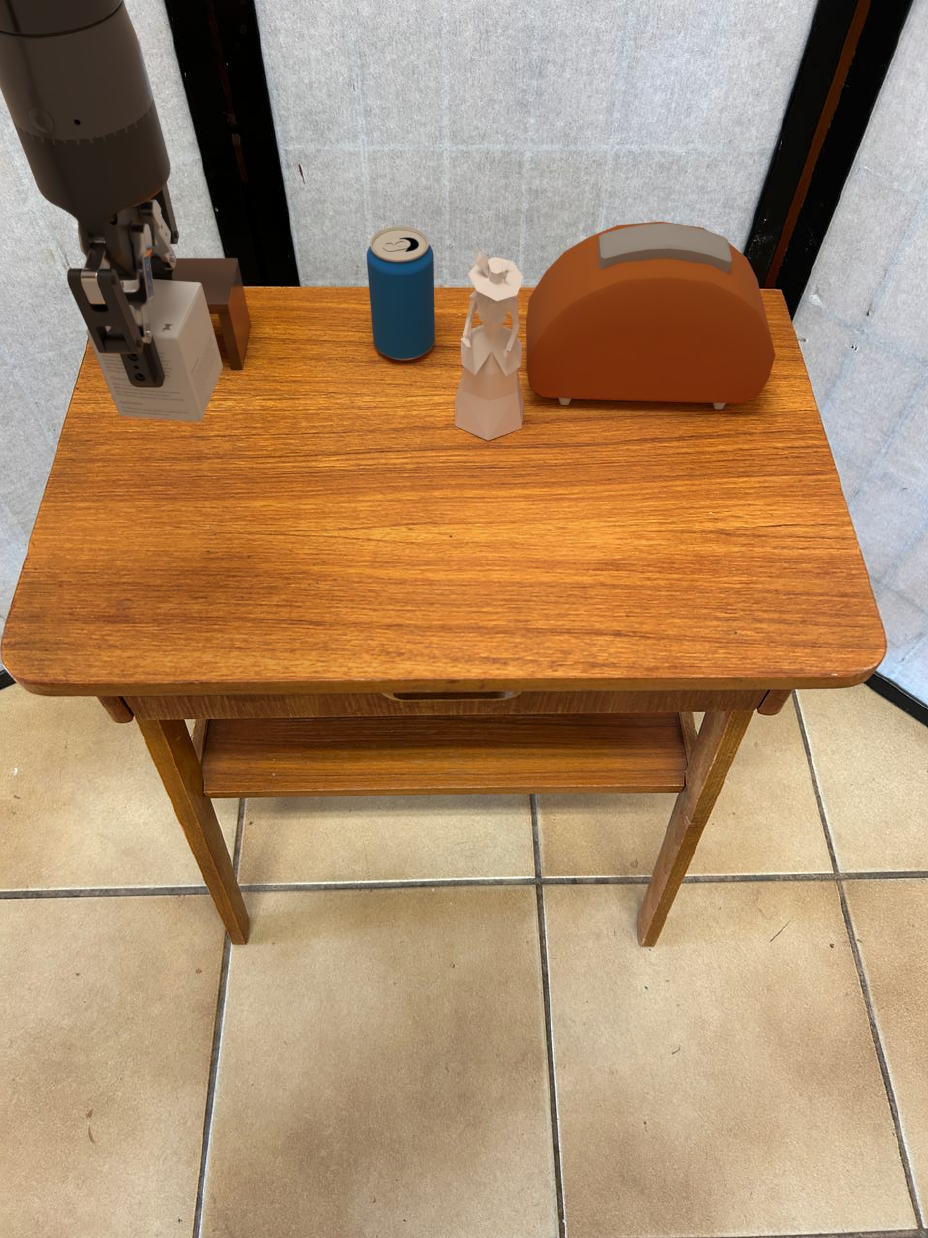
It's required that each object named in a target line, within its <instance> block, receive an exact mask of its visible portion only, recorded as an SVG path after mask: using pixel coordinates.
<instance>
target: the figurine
mask: <svg viewBox="0 0 928 1238" xmlns="http://www.w3.org/2000/svg"><path fill="white" fill-rule="evenodd" d="M467 275H468V277H469V280H470V281H471V283H472V285H473V287H474V289H475V290H473V291H472V293H470V295H469V296H468V297H469V305H468V311H467V314H466V320H465V323H464V329H463V332H462V333H463V334H462V337H461V338H460V339H459V340H460V341H461V342H460V356H461V357H460V359H461V365H462V366H463V370H462V374H461V376H460V381H459V384H458V388H457V391H456V395H455V398H454V426H455V427H456V428H458V429H460V430H463V431H464V432H465V431H466V432H468V433H470V434H472V435H474V436H476V437H479V438H481V439H483V440H486V441H487V442H488V441H491V440H494V439H497V438H499V437H502V436H505V435H508V434H510V433H513V432H517V431H519V430H521V429H523V421H524V407H525V402H524V397H523V390H522V388H521V387H522V386H521V381H520V376H519V368H520V367H521V366H522V365H521V364H522V357H523V356H522V355H523V343H522V342H521V340H520V339H519V337H518V335H519V332H520V329H521V324H520V316H519V315H520V313H519V297H518V294H519V291H520V289H521V285H522V283H523V280H524V276H523V274H522V273H521V271H520V269H519V268H518V266H517V264H516V263H515V261H513V260H509V259H505V258H500V257H497V256H494V257H491V258H488V257H487V256H486V255H484V254H483V253H482V252H480V251H478V252H477V257H476V261H475V264H474V266H473V267H472V269H470V271H469V272H468V273H467ZM476 312H477V314H478V320H479V321H481V322H482V325H478V326H476V327H474V328H472V325H473V320H474V319H475V315H476ZM508 313H510V318H511V321H512V328H509V327H507V326H504V325H503V324H504V323H505V322H506V319H507V316H508Z"/></svg>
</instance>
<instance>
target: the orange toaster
mask: <svg viewBox="0 0 928 1238" xmlns="http://www.w3.org/2000/svg"><path fill="white" fill-rule="evenodd" d="M525 318H526V319H525V332H526V333H525V347H526V348H525V349H526V350H525V351H526V352H525V353H526V354H525V355H526V359H525V360H526V361H525V362H526V363H525V365H526V375H527V381H528V385H529V388H530V389H531V391H533V392H535V393H536V394H538V395H539V396H541V397H543V398H553V399H558V400H559V401H558V402H559V404H560V405H561V406H569V404H571V400H602V401H603V400H604V401H634V402H635V401H640V402H670V403H671V402H673V403H674V402H675V403H676V402H677V403H706V404H707V403H709V404H712V405H713V410H723V409H724V406H725V405H726V404H743V403H745V402H748V401H750V400H752V399H754V398H757V397H758V396H759V395H760V394H761V393H762V391H763V389H764V388H765V386H766V384H767V382H768V381H769V378H770V375H771V372H772V369H773V366H774V362H775V358H776V351H775V347H774V343H773V338H772V334H771V330H770V326H769V321H768V317H767V314H766V310H765V306H764V301H763V298H762V292H761V290H760V285H759V281H758V278H757V276H756V274H755V272H754V270H753V268H752V266H751V263H750V262H749V260H748V257H746V256H745V255H744V254H743V253H742V252H741V251H739V250H738V249H737V248H736V247H735V246H733V245H732V244H731V243H730V242H729V240H728V238H727V237H726V236H722V235H721V234H717V233H715V232H712V231H710V230H707V229H706V228H704V227H701V226H694V225H687V224H681V223H673V222H666V221H652V222H639V223H629V224H617V225H614V226H612V227H610V228H608V229H605V230H602V231H600V232H597V233H594V234H593V235H590V236H588V237H586V238H585V239H583V240H581V241H579V242H578V243H576V244H575V245H573V246H571V247H570V248H568V249H566V250H564V252H562V254H561V255H560V256H559V257H558V258H557V259H556V260H555V261H554V262H553V263H552V264H551V265H550V266H549V267H548V268H547V270H546V271H545V272H544V274H542V277H541V279H540V280H539V282H538V283H537V285H536V286H535V288H534V290H533V292H532V293H531V295H530V296H529V298H528V302H527V311H526V317H525Z"/></svg>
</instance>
